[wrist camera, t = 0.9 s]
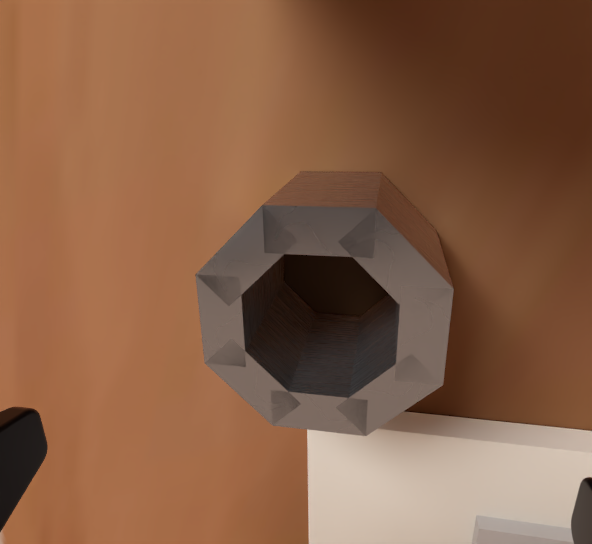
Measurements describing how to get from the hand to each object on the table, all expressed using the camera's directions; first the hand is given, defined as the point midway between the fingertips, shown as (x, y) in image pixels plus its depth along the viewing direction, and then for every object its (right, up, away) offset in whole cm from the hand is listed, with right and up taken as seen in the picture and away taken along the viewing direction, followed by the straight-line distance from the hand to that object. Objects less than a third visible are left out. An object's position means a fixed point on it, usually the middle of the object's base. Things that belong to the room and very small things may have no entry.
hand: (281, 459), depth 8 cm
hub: (+2, +3, +9) cm, 10 cm away
